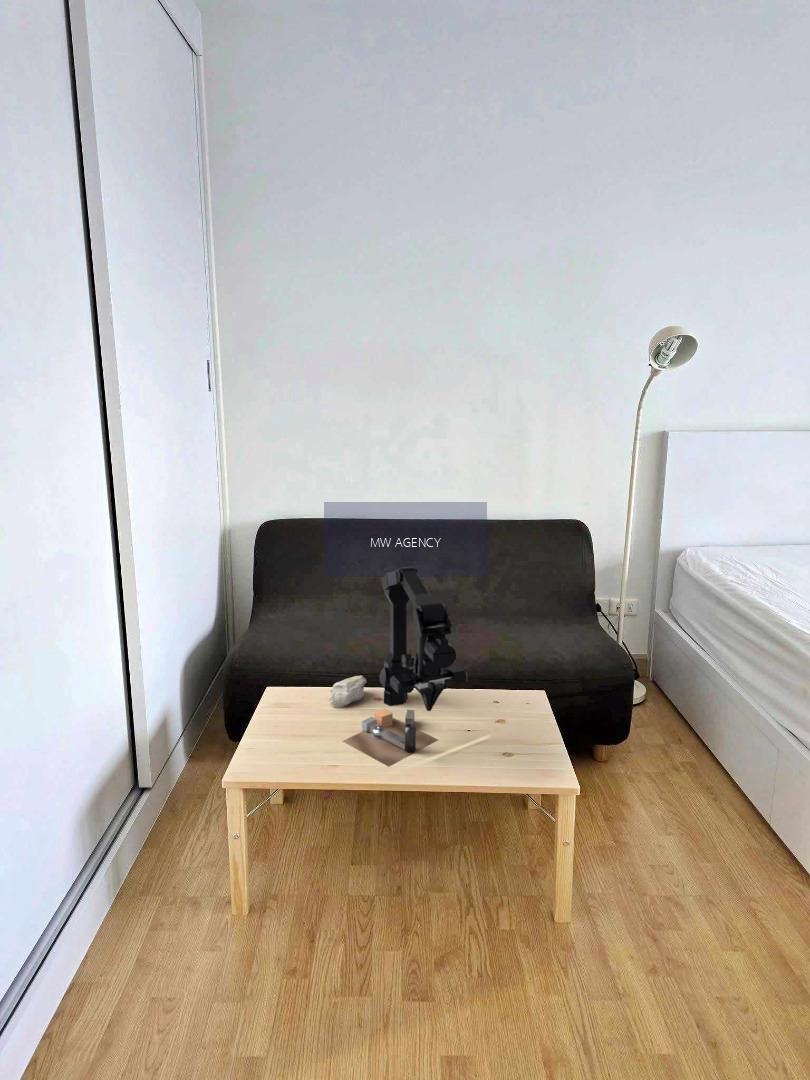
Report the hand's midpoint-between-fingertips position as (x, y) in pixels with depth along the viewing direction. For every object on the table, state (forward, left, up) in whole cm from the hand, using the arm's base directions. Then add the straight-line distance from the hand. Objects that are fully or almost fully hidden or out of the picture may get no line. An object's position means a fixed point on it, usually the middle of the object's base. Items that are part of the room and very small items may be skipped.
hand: (428, 710), depth 182 cm
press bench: (+3, -9, -11) cm, 15 cm away
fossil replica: (-2, -34, -11) cm, 36 cm away
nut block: (0, -16, -10) cm, 19 cm away
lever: (+5, -9, -10) cm, 14 cm away
